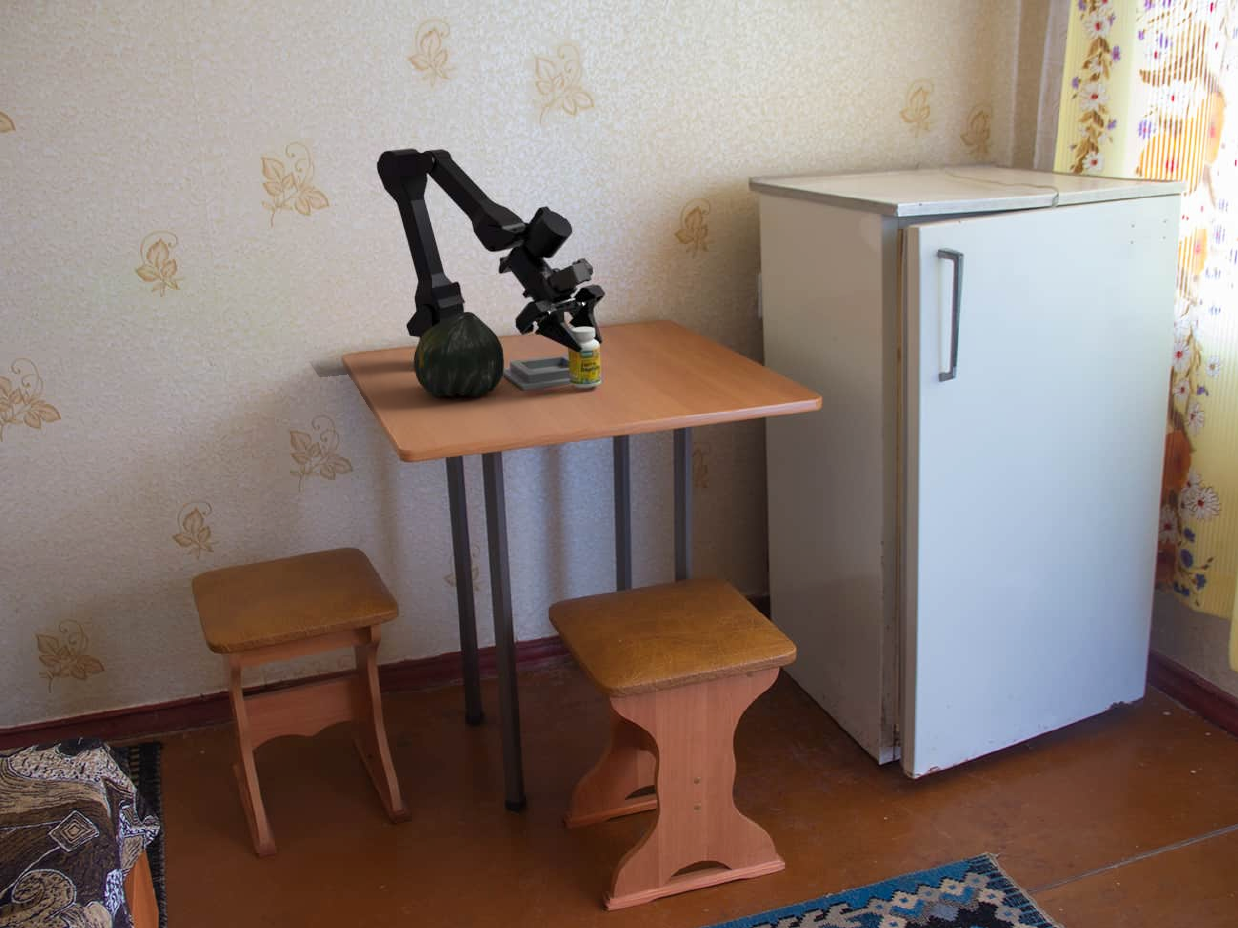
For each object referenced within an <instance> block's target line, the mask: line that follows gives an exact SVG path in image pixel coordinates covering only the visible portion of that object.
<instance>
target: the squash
mask: <svg viewBox="0 0 1238 928" xmlns="http://www.w3.org/2000/svg"><path fill="white" fill-rule="evenodd" d="M504 368H505V358H504V349H503V346H502V343H501V341H500V339H499V337H498V336H497V334H496V333H495V332H494V331H493V329H491V327H489V326H488V325H487V324H486V323H485V322H483V320H481V318H480V317H479V316H477V315H476V314H475V313H474V312H471V311H464V312H463V313H459V314H456V315H454V316H452V317H450V318H448V319H446V320H445V321H442V322H440V323H438V324H436V325H434V326H433V327H432V328H430V329H429V330H428V331H427V332H426V333H425V334H424V335H423V336H422V338H421V339H420V341H418V343H417V346H416V348H415V352H414V355H413V369H414V374H415V377H416V379H417V381H418V383H419V384H420V385H421V387H422V388H423V389H424V390H425V391H427V392H428V393H429V394H430V395H433V396H435V397H445V396H450V397H453V396H455V395H456V394H458V395H459V396H466V395H467V396H469V397H472V398H479V397H482V396H484V395H485V394H487V393H490V392H492V391H493V390H495V388H496V387H497V386H498V385H499V383H500V382H501V380H502V378H503V376H504V375H503V371H504Z"/></svg>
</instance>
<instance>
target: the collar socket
mask: <svg viewBox="0 0 1238 928" xmlns="http://www.w3.org/2000/svg"><path fill="white" fill-rule="evenodd" d="M502 376H504V377H505V378H507V379H509V381H511V382H512V383H513V384H514V385H516V386H517V387H519V388H520V389H521V390H522V391H527V390H528V391H529V390H533V389H534V390H535V389H541V388H543V389H544V388H549V387H551V388H552V387H557V386H565V385H571V384H570V374H569V355H568V354H559V355H553V356H552V355H551V356H545V357H544V356H543V357H536V358H530V359H529V358H528V359H521V360H514V361H509V367H506V368H505V367H504V371H503V375H502Z"/></svg>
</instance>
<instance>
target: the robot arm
mask: <svg viewBox="0 0 1238 928" xmlns="http://www.w3.org/2000/svg"><path fill="white" fill-rule="evenodd" d="M376 170H377V173H378V176H379V178H380V181H381V184H382V186H383V188H384V190H385V191H386V193H388V195H390V197H391V198H392V199H393V200H394V201H395V203H396V205H397V207H398V211H399V215H400V219H401V222H402V226H403V230H404V232H405V237H406V241H407V245H408V248H409V252H410V256H411V260H412V262H413V263H412V264H413V268H414V270H415V275H416V278H417V284H416V289H415V294H414V304H415V309H416V310H415V311H414V314H413V315H412V316H411V318H410V319H409V320H408V322H407V323H406V329H407V332H408V335H409V337H416V338H419V339H418V340H419V341H420V339H421V338H422V336H423V335H424V334H425V333H426V332H427V331H428V330H429V329H430V328H432V327H433V326H434V325H436V324H438V323H440V322H442V321H445V320H446V319H448V318H450V317H452V316H454V315H456V314H459V313H463V312H465V311H464V310H465V307H464V304H465V303H466V301H465V298H464V297H463V294H462V291H461V290H462V289H461V284H460V283H459V281H454V282H452V281H451V280H450V279H449V277H448V276H447V275H446V272H445V271H444V270H445V269H444V267H443V263H442V260H441V256H440V251H439V249H438V244H437V241H436V237H435V233H434V229H433V226H432V222H431V218H430V214H429V210H428V206H427V202H426V199H425V194H426V189H427V185H428V179H429V178H428V176H429V177H430V178H431V179H432V180H433V181H434V182H435V183H436V184H437V185H438V187H440V188H441V189H442V190H443V191H444V193H445V194H446V195H447V196H448V197H449V198H450V199H451V200H452V201H453V202H454V203H455V205H456V206H458V208H459V209H460V210H461V211H462V212H463V213H464V214H465V215H466V216H467V218H468V219H469V220H470V222H471V226H472V229H473V231H472V232H473V233H474V234H475V237H477V239H478V240H479V242H480V244H481V245H482V246H483V247H484V249H486V250H487V251H488V252H490V253H499V252H503V251H508V250H510V251H509V253H508V254H507V256H502V257H500V258H499V266H498V274H499V275H502V274H507V273H512V275H513V276H514V277H515V278H516V280H517V281H518V282H519V284H520V285H521V286H522V287H523V289H524V290H523V292H522V293H521V294H522V296H523V298H524V299H528V298H531V299H532V301H529V302H527V304H526V305H525V307H524V308H523V309H522V310H521V311H520V313H518V315H516V318H514V320H515V321H514V323H515V328H516V329H517V330H518V331H519V333H520V334H521V336H525V335H527V334H530V333H533V332H534V334H535V335H536V336H542V337H544V338H547V339H548V340H552V341H554V342H556V343H558V344H560V345H561V346H564V347H566V348H567V349H568V348H569V349H571V350H573V351H575V352H577V353H578V352H580V351H581V350H582V347H581V345H580V343H579V341H578V340H577V338H576V337H575V335H574V334H573V332H572V331H571V328H570V326H569V325H568V323H569V324H570V325H571V326H572V327H573V328H576V327H593V328H594V329H595V337H594V339H595V340H597V341H598V342H599V345H602V343H603V339H602V335H601V333H600V330H599V328H598V327H599V326H598V324H597V321H596V319H595V311H594V310H595V307H597V305H598V303H599V302H600V301H601V300H602V299H603V298H604V297H605V295H606V291H604V289H603V288H602V287H601V285H599V284H589V285H586V286H582V287H580V289H579V290H578V287H577V286H580V285H581V284H583V283H585V282H590V281H592V277H591V276H592V275H593V274H594V267H593V265H591V263H590V262H588V259H586V258H585V257H582V258H579V259H577V260H576V261H573V262H572V263H571V264H572V265H568V266H566V267H564V268H562V269H560V268H558V267H555V268H552V267H551V266H550V265H549V263H548V262H547V261H546V259H553V257H555V255H556V254H557V253H558V251H559V250H560V249H561V248H562V247H563V245H564V244H565V242H566V241H567V240H568V239H569V238H570V237H571V235H572V234H573V226H572V224H571V223H570V221H569V220H568V219H567V218H566V217H563V215H561V214H559V213H558V212H555V211H553V210H551V209H550V207H548V206H547V205H546V206H541V207H538V209H537V210H536V212H535V213H534V216H533V217H532V218H531V220H530V221H529V222H526V221H524V220H523V219H522V218H521V217H520V216H518V215H517V214H516V213H515V212H514V211H512V210H511V209H509V207H507V206H504V205H502V204H500V203H497V202H495V201H494V200H493V199H491V198H490V197H489V196H488V195H487V194H486V192H484V191H483V190H482V189H481V188H480V186H479V185H478V184H477V183H476V182H475V181H474V180H473V179H472V178H471V177H470V176H469V175H468V174H467V173H466V172H465V171H464V170H463V169H462V167H460V165H459V164H457V162H456V161H454V159H453V156H452V155H451V153H450V152H449V151H448V150H445V149H443V148H441V149H440V148H438V149H430V150H425V151H424V152H420V151H418V150H417V149H416V148H403V149H392V150H385V151H384V152H381V154H380V156H379V158H378V161H376ZM577 290H578V291H577ZM576 291H577V293H576ZM575 293H576V294H575ZM574 294H575V295H574ZM572 295H574V296H573V297H572ZM565 313H567V314H569V315H570V317H571V318H572V319H570V321H569V322H568V323H567V322H566V318H565ZM534 323H536V326H537V327H538V328H536V330H535V324H534ZM534 330H535V331H534ZM419 341H418V342H419Z"/></svg>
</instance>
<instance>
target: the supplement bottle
mask: <svg viewBox="0 0 1238 928" xmlns="http://www.w3.org/2000/svg"><path fill="white" fill-rule="evenodd" d="M570 329H571V328H570ZM571 331H572V332H573V334H574V335H575V337H576V338H577V340H578V341H579V343H580V345H581V347H582V350H581V351H580V352H578V353H577V352H575V351H573V350H571V349H569V348H568V347H567V350H568V351H567V352H568V355H569V374H570V384H569V385H571V387H574V388H578V389H588V388H594V387H595V388H596V387H597V386H599V385H600V384H601V382H602V373H601V370H602V369H601V348H600V345H601V344H600V345H599V342H598V341H597V340H595V339H594V337H595V329H594V328H593V327H576V328H575V327H573V328H572V329H571Z"/></svg>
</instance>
